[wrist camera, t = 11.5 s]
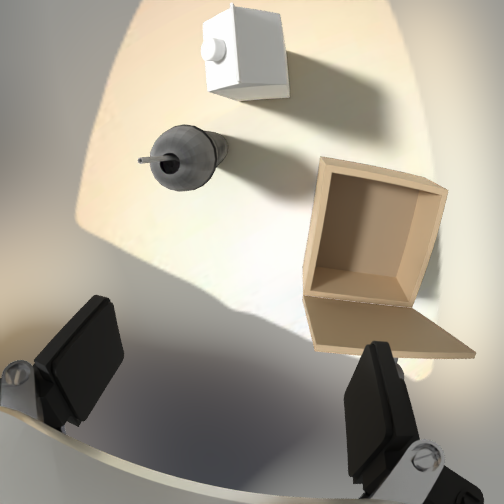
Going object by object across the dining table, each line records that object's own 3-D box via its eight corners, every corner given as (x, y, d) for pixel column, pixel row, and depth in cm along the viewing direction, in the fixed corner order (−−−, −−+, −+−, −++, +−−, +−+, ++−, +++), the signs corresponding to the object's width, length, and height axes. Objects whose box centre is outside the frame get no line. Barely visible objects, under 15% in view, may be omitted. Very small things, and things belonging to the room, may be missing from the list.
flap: (316, 344, 22) (301, 409, 23) (476, 352, 21) (454, 409, 22) (303, 295, 39) (295, 339, 40) (412, 307, 38) (401, 349, 38)
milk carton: (286, 50, 34) (277, -3, 16) (290, 98, 36) (285, 77, 19) (233, 54, 35) (187, 10, 18) (237, 101, 38) (192, 87, 20)
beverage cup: (206, 182, 43) (143, 230, 25) (178, 142, 41) (97, 163, 23) (247, 155, 41) (207, 184, 23) (219, 113, 39) (156, 109, 21)
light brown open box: (320, 156, 39) (325, 164, 32) (424, 177, 38) (448, 190, 31) (302, 267, 46) (303, 294, 39) (397, 279, 45) (411, 307, 38)
